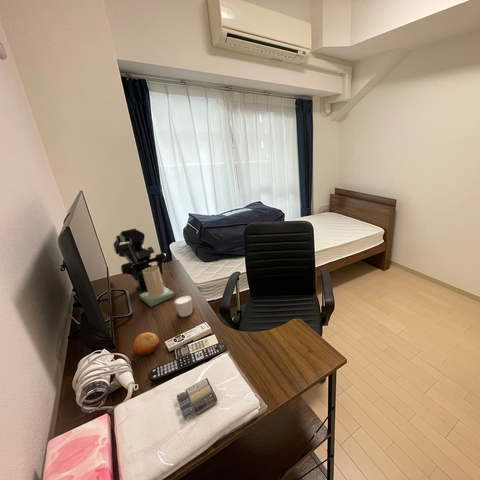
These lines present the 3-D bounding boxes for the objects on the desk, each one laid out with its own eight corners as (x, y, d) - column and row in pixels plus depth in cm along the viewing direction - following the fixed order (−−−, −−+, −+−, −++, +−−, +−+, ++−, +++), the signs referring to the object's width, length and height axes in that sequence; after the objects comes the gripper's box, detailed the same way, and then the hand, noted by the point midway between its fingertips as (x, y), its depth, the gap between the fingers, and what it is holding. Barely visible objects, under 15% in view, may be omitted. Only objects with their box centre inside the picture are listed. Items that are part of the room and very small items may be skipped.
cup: (145, 295, 123) (138, 272, 119) (157, 288, 129) (151, 265, 125) (156, 297, 122) (150, 273, 117) (168, 290, 128) (162, 267, 123)
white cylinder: (197, 308, 118) (194, 296, 115) (188, 318, 112) (185, 304, 109) (183, 307, 119) (180, 295, 116) (174, 317, 112) (170, 304, 110)
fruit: (139, 339, 97) (145, 325, 95) (158, 348, 99) (165, 334, 96) (123, 356, 90) (129, 341, 87) (144, 365, 91) (151, 350, 88)
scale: (140, 298, 126) (139, 293, 125) (163, 288, 134) (162, 284, 133) (150, 306, 119) (149, 301, 118) (174, 296, 128) (173, 291, 127)
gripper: (115, 249, 114) (130, 278, 111) (160, 237, 127) (174, 263, 124) (115, 259, 121) (129, 287, 119) (158, 248, 135) (171, 272, 132)
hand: (152, 277), depth 123 cm, fingers open, 9 cm apart
